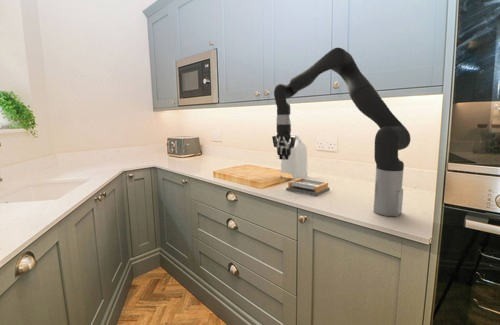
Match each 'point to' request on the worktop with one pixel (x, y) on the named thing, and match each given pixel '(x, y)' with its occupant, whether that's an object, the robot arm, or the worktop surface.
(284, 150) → the dark piece
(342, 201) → the worktop surface
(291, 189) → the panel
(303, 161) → the milk
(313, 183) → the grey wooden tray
